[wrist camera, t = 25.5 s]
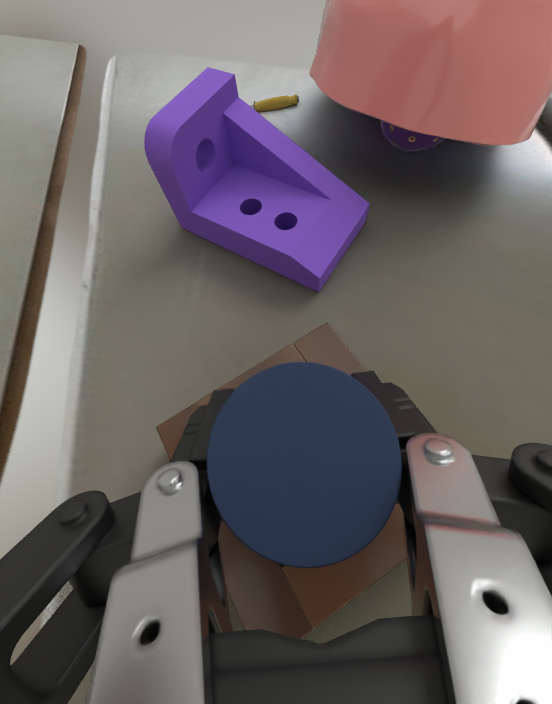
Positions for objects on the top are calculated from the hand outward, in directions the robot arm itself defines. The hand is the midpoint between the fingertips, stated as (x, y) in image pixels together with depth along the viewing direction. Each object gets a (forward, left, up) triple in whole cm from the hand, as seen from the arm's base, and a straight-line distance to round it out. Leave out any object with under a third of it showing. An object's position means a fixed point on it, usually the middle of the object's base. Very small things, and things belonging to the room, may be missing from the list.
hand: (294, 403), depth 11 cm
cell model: (+24, +17, +4) cm, 30 cm away
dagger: (+11, +26, -6) cm, 29 cm away
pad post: (-1, -2, -5) cm, 5 cm away
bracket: (+6, +13, -6) cm, 16 cm away
